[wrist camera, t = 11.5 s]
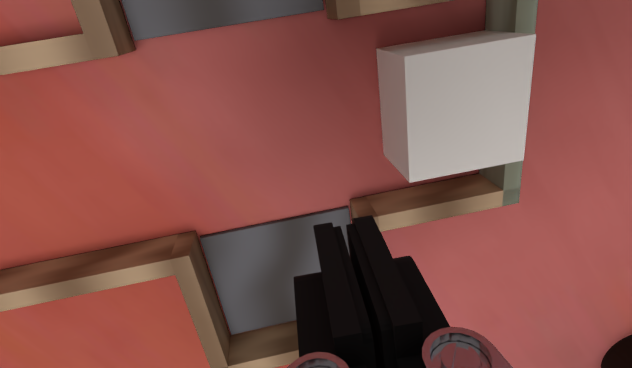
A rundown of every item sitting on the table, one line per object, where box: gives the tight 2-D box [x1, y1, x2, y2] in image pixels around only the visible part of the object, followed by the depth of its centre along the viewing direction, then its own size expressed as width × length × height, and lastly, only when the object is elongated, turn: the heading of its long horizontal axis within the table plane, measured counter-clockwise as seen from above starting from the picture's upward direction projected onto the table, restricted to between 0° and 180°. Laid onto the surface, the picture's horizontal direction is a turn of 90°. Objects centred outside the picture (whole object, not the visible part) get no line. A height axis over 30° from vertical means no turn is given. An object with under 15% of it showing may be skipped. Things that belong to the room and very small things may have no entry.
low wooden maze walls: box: [0, 0, 538, 368], centre depth 23 cm, size 35×34×3 cm
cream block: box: [376, 30, 536, 183], centre depth 23 cm, size 7×7×5 cm
